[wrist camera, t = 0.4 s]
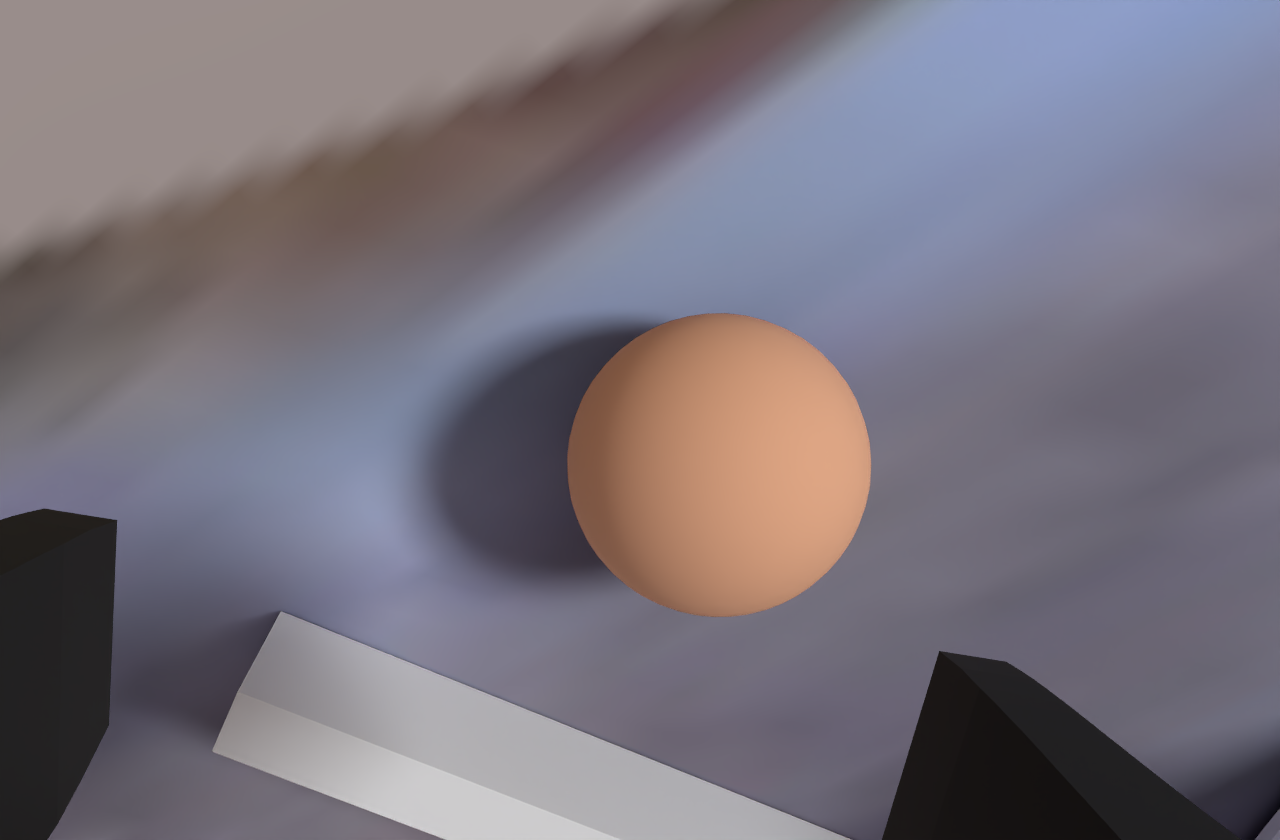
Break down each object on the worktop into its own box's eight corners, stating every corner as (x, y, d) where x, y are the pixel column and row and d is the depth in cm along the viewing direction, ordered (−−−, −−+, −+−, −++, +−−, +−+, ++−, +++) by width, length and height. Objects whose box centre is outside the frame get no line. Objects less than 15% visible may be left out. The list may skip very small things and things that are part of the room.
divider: (974, 888, 23) (1014, 991, 21) (941, 933, 23) (978, 1039, 21) (281, 611, 21) (237, 691, 18) (257, 665, 21) (212, 751, 19)
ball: (891, 352, 19) (965, 454, 15) (763, 574, 21) (799, 722, 17) (645, 234, 19) (653, 307, 14) (529, 472, 20) (505, 600, 16)
